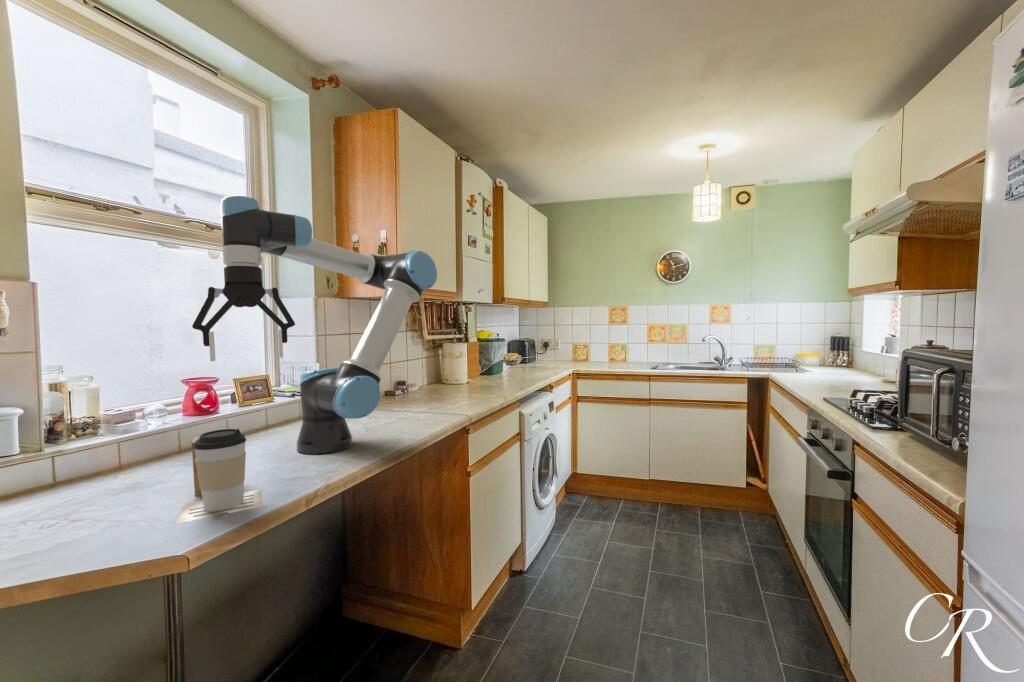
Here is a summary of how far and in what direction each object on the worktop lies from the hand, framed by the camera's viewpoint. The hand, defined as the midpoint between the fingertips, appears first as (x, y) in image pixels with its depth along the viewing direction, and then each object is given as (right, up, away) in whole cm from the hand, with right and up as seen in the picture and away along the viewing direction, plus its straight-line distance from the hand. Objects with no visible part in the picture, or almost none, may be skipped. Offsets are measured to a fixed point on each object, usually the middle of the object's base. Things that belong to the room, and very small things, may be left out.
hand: (248, 359), depth 106 cm
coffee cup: (+3, -29, -13) cm, 32 cm away
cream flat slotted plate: (+3, -29, -13) cm, 32 cm away
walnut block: (-5, -29, -4) cm, 30 cm away
